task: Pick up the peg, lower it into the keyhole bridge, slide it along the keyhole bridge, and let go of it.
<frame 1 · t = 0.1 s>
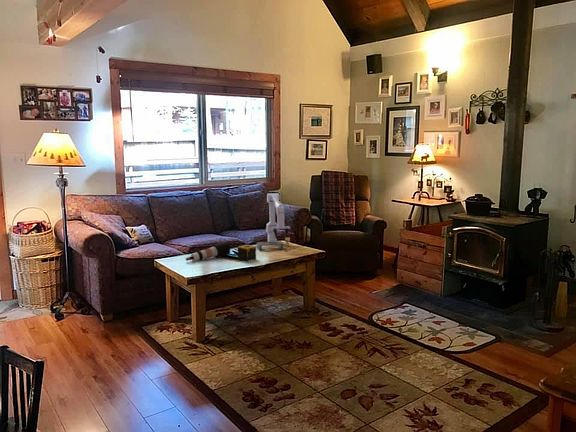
hand: (280, 238, 384), 10 cm above the table, tool pointing down, fingers open, 7 cm apart
keyhole bridge: (270, 248, 390), on the table
peg: (287, 245, 403), on the table
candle: (246, 259, 355), on the table
white black cylinder: (207, 259, 357), on the table
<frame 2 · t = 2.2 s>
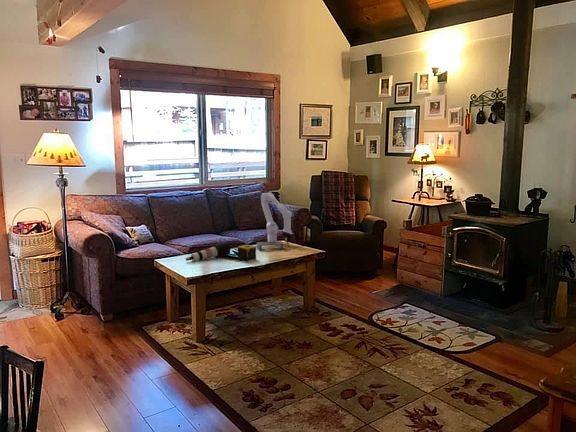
hand: (287, 241, 402), 4 cm above the table, tool pointing down, fingers closed on peg, 4 cm apart
peg: (287, 245, 403), on the table, touching gripper
everything else where it was.
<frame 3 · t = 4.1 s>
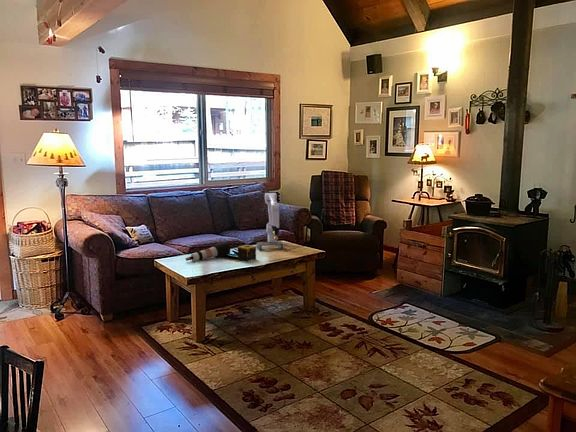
hand: (275, 235, 394), 10 cm above the table, tool pointing down, fingers closed on peg, 4 cm apart
peg: (276, 239, 394), point 7 cm above the table, touching gripper
everything else where it was.
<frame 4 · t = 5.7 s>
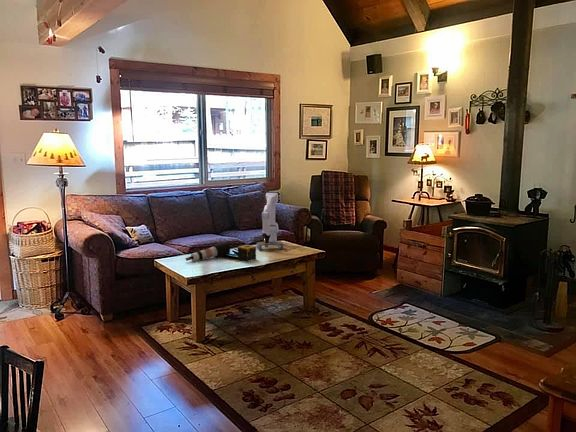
hand: (266, 242, 389), 5 cm above the table, tool pointing down, fingers closed on peg, 4 cm apart
peg: (266, 247, 389), point 2 cm above the table, touching gripper
everything else where it was.
when the fingers open (5 cm above the table, at t = 7.6 s): peg stays where it is, resting on keyhole bridge.
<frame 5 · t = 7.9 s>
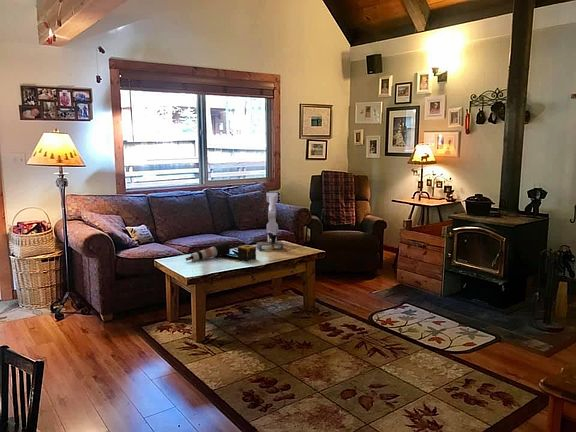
hand: (272, 242, 390), 5 cm above the table, tool pointing down, fingers open, 6 cm apart
peg: (272, 247, 391), point 1 cm above the table, touching keyhole bridge
everything else where it was.
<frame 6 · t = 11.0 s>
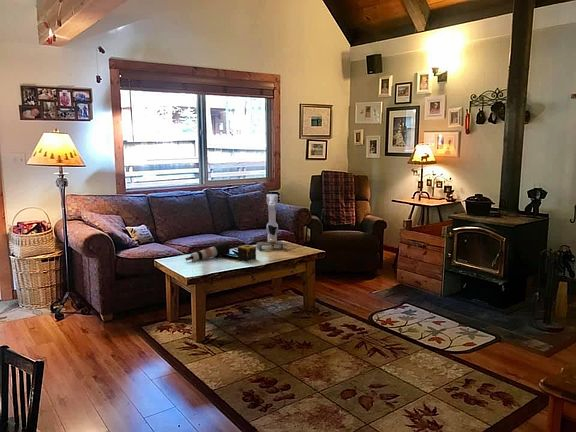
hand: (272, 234, 396), 10 cm above the table, tool pointing down, fingers open, 7 cm apart
nothing on the table moved.
at the end: peg 0.2 cm from the target spot on the keyhole bridge, point 1.2 cm above the keyhole bridge's base; peg touching keyhole bridge; the gripper is holding nothing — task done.
